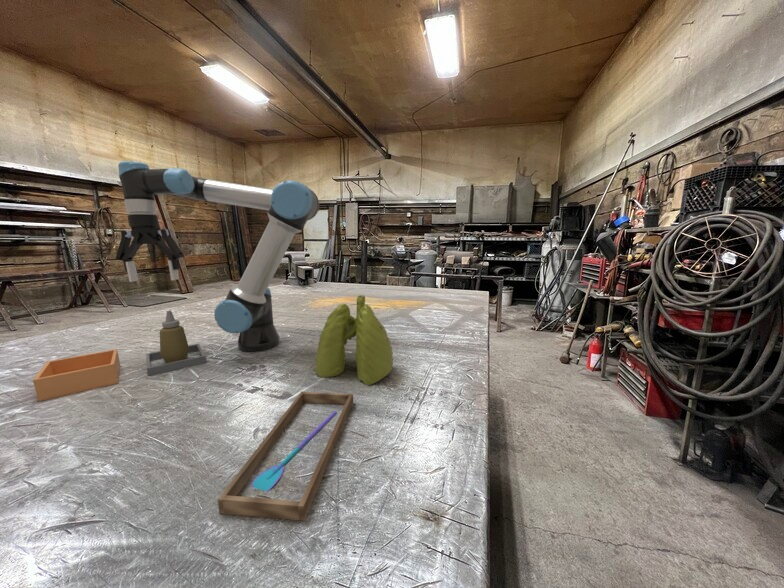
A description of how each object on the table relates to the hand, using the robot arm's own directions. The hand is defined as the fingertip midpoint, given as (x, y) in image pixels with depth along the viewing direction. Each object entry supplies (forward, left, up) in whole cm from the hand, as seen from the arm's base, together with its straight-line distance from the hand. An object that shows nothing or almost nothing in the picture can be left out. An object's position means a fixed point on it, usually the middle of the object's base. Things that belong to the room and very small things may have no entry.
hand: (154, 280), depth 100 cm
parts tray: (-4, +1, -28) cm, 28 cm away
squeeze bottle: (-4, +1, -28) cm, 29 cm away
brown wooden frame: (-64, +38, -28) cm, 80 cm away
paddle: (-64, +38, -29) cm, 80 cm away
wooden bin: (+12, +17, -28) cm, 35 cm away
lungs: (-67, +3, -28) cm, 73 cm away
